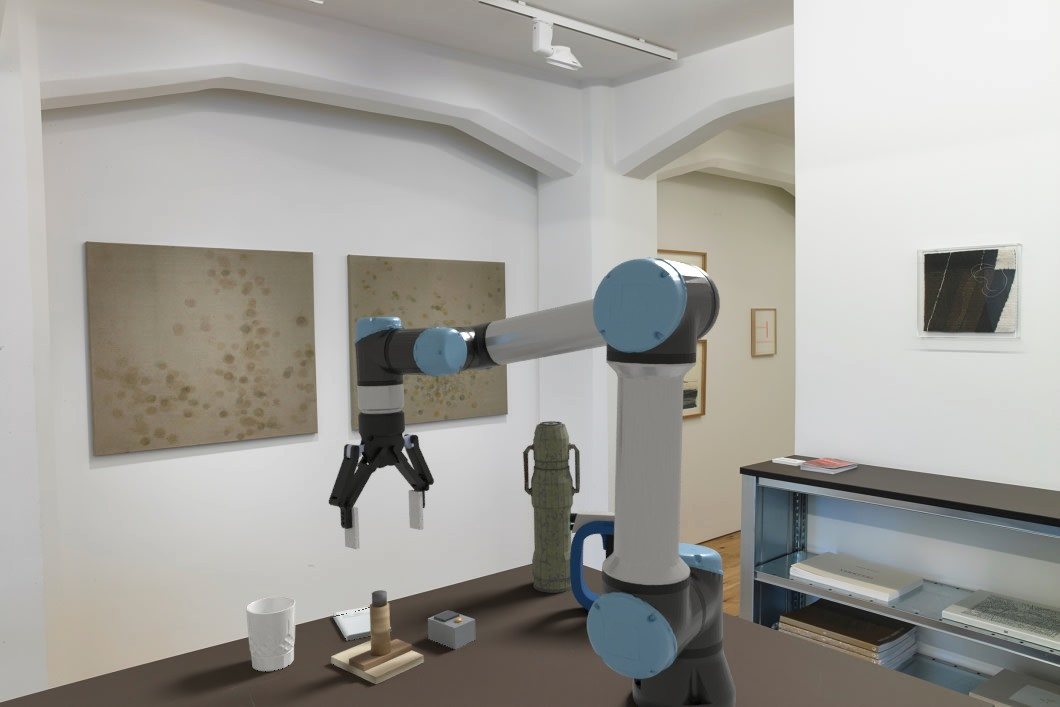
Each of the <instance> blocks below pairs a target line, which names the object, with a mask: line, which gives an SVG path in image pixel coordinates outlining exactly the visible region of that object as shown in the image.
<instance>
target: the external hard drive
mask: <svg viewBox="0 0 1060 707" xmlns="http://www.w3.org/2000/svg"><path fill="white" fill-rule="evenodd" d="M368 607H370V605H369V606H364V607H358V608H352V609H346V610H341V611H336V612H334V613H333V614H332V615H333V616H336V615H340V616H336V617H333V616H332V617H333V620H334V621H335V623H336V625H337V626H338V629H339V630H340V631H341V633H342V635H343V637H344V638H346V639H345V640H346V641H347V642H349V641H348V640H350V641H354V639H355V640H359V638H361V639H364V638H363V637H366V638H369V637H368V636H371V632H370V608H368ZM365 608H367V609H365ZM362 609H364V610H362ZM358 610H360V611H358ZM355 611H356V612H355ZM346 613H347V614H346ZM341 614H344V615H341ZM390 632H391V633H392V627H391V626H390Z"/></svg>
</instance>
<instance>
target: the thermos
mask: <svg viewBox="0 0 1060 707" xmlns="http://www.w3.org/2000/svg"><path fill="white" fill-rule="evenodd" d="M533 435H534V436H533V439H532V440H533V441H532V444H530V445H527V446H526V448H525V449H524V450H523V452H522V454H523V455H522V458H523V460H522V461H523V475H524V476H523V478H524V481H523V482H524V492H525V493H527V494H528V496H530V498H531V501H530V502H531V505H532V508H533V526H534V527H533V530H534V532H533V534H534V536H533V537H534V538H533V540H534V550H533V555H532V559H531V560H532V561H531V562H532V563H531V565H532V567H531V568H532V569H531V570H532V571H531V572H532V576H533V588H534V589H535V590H536V591H539V592H542V593H549V594H557V593H558V594H559V592H560V593H565V592H564V591H566V592H568V591H570V590H571V591H572V587H571V580H570V552H571V544H572V531H570V524H572V523H570V513H572V506H573V505H574V495H575V494H579V493H580V489H581V472H580V471H581V465H580V450H579V449H578V447H577V445H576V444H574V443H571V442H570V435H569V432H568V429H567V426H566V424H565V423H563V422H562V421H555V420H554V421H542V422H540V423H538V424H536V426H535V430H534V434H533ZM531 450H532V451H533V461H534V466H533V473H532V475H531V476H532V477H531V479H530V478H529V477H530V476H529V475H530V474H529V453H530V451H531ZM572 450H574V474H575V478H574V480H575V482H574V481H573V477H572V474H571V472H570V464H569V462H570V461H569V460H570V451H572ZM529 481H530V482H529ZM573 482H574V483H575V484H574V483H573ZM573 484H574V485H575V486H574V485H573ZM529 485H530V486H529Z"/></svg>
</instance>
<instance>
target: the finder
mask: <svg viewBox="0 0 1060 707" xmlns="http://www.w3.org/2000/svg"><path fill="white" fill-rule="evenodd" d="M427 637H428V638H427V639H428V640H429V639H430V641H431V640H433V641H432V642H434V641H435V642H434V643H436V642H438V643H437V644H439V643H440V645H442V644H443V645H442V646H444V645H446V646H445V647H447V646H448V647H447V648H449V647H450V648H449V649H452V648H453V650H455V649H456V650H458V649H460V648H462V647H464V646H466V644H467V643H469V642H471V641H473V642H475V641H476V619H475V618H472V617H470V616H467V615H463V614H460V613H458V612H455V611H452V610H449V609H448V610H445V611H443V612H440V613H437V614H434V615H433V616H431V617H428V618H427ZM474 640H475V641H474ZM471 643H472V642H471ZM469 644H470V643H469ZM463 645H464V646H463ZM467 645H468V644H467ZM457 648H458V649H457Z"/></svg>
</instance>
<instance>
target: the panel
mask: <svg viewBox="0 0 1060 707" xmlns="http://www.w3.org/2000/svg"><path fill="white" fill-rule="evenodd" d="M390 646H391V652H390V653H389V654H387V655H384V656H374V655H372V654H371V639H370V640H367V641H366V642H363V643H361V644H358V645H356V646H353V647H350V648H348V649H345V650H343V651H341V652H338V653H336V654H334V655H331V656H330V664H331V665H333V664H334V665H333V666H335V667H338V668H340V669H342V670H344V671H347V672H348V673H351V674H353V675H354V676H357V677H359V678H362V679H364V680H366V681H367V682H369V683H372V684H375V685H378V684H380V683H382V682H386V681H387V680H389V679H392V678H393V677H395V676H397V675H400V674H401V673H404V672H407V671H408V670H410V669H413V668H415V667H417V666H419V665H421V664H424V662H425V655H424V654H421V653H419V652H417V651H414V650H413V644H411V643H409V642H407V641H403V640H401V639H398V638H395V639H392V640H390Z"/></svg>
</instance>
